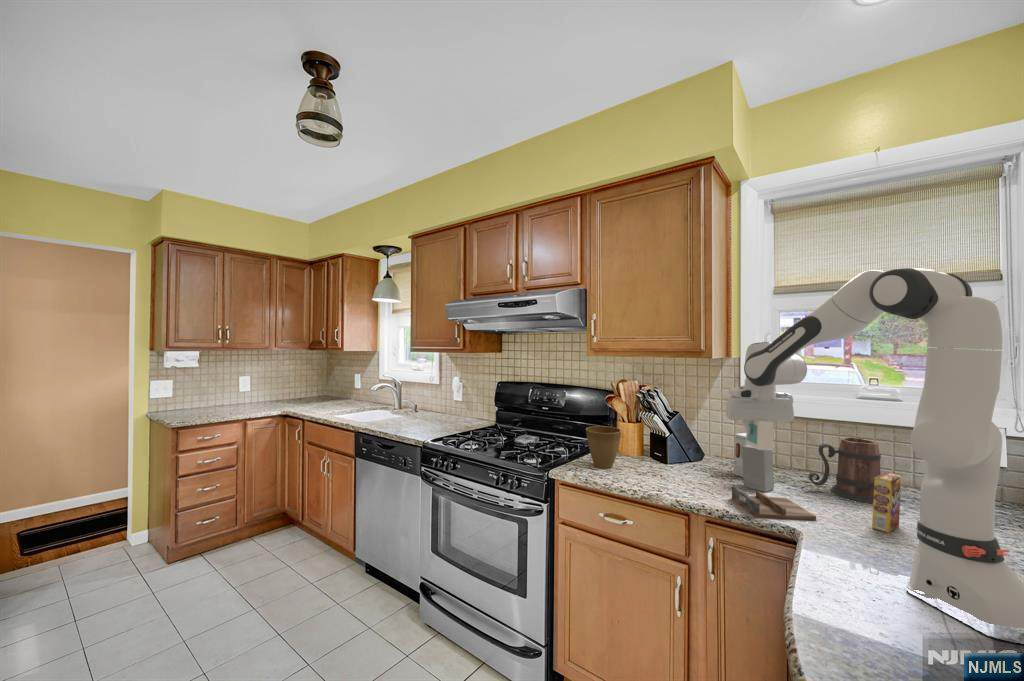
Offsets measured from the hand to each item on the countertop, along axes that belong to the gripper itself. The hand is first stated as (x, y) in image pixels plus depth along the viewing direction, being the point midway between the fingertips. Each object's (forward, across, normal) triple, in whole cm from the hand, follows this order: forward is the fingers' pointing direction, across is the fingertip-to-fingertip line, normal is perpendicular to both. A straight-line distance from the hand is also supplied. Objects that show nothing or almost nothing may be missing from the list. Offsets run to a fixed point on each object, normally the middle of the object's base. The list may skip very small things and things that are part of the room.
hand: (759, 434), depth 139 cm
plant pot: (+24, +44, -42) cm, 65 cm away
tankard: (+24, -40, -18) cm, 50 cm away
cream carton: (+4, 0, 0) cm, 4 cm away
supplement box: (+24, -15, -36) cm, 46 cm away
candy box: (+24, -31, +11) cm, 41 cm away
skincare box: (+24, -10, -21) cm, 34 cm away
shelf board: (+24, -4, 0) cm, 24 cm away
